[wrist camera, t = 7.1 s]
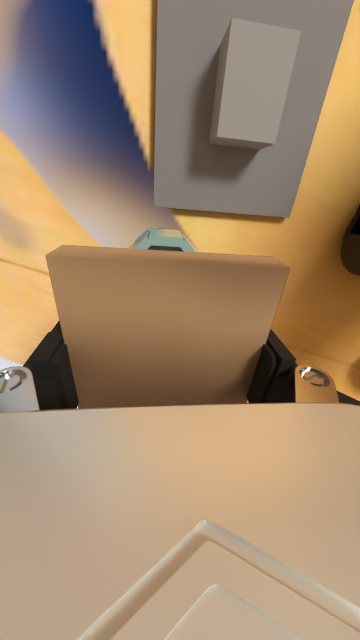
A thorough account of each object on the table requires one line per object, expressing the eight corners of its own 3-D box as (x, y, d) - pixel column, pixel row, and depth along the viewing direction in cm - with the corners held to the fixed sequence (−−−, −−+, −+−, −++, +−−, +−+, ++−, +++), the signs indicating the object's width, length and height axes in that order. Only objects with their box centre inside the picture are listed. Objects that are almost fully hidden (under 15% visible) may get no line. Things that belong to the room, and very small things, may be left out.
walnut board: (62, 245, 7) (45, 255, 6) (270, 256, 8) (290, 267, 7) (93, 419, 12) (86, 445, 11) (227, 413, 13) (234, 437, 12)
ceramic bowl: (126, 225, 20) (120, 233, 16) (200, 230, 20) (209, 239, 17) (129, 295, 23) (124, 313, 19) (192, 297, 24) (199, 315, 20)
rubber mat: (159, -86, 12) (159, -167, 9) (359, -38, 13) (411, -97, 11) (153, 206, 19) (153, 208, 16) (285, 217, 20) (306, 221, 18)
